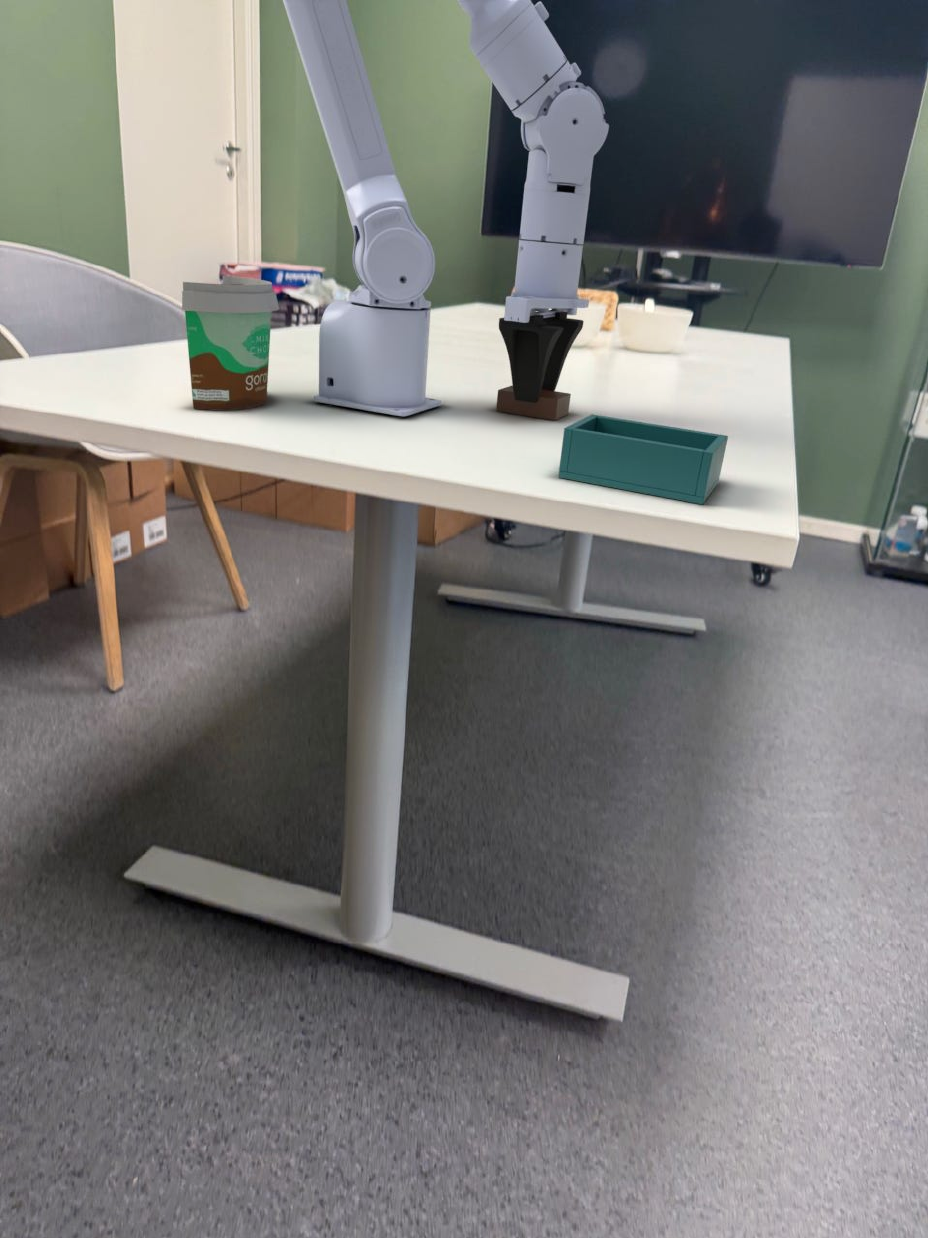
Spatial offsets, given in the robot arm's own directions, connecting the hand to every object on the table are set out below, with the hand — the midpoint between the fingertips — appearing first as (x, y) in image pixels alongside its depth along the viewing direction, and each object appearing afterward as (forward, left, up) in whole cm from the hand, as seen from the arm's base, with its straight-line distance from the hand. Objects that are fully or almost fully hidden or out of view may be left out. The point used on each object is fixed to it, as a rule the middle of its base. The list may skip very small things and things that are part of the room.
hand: (533, 397), depth 81 cm
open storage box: (+15, -18, -1) cm, 24 cm away
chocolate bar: (0, 0, -1) cm, 1 cm away
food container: (-22, -16, -2) cm, 27 cm away
